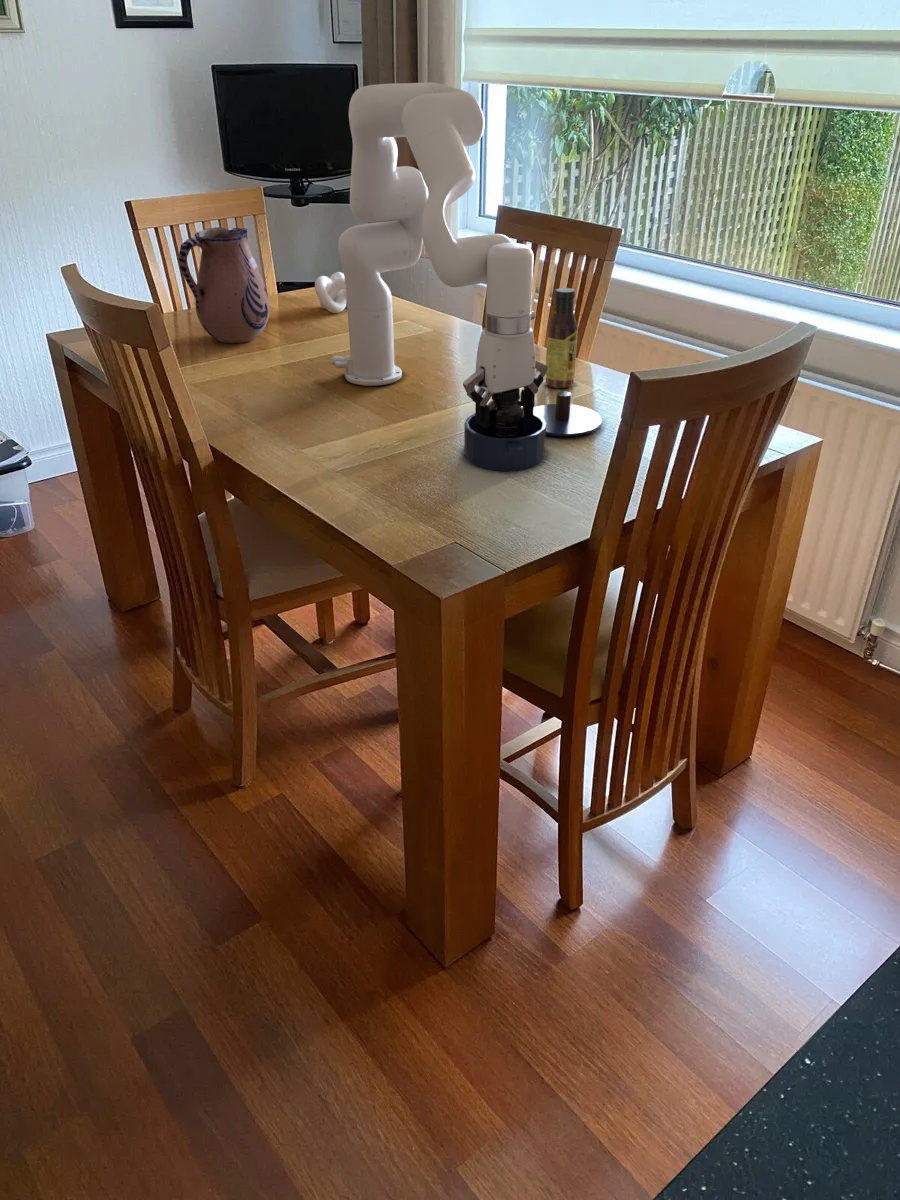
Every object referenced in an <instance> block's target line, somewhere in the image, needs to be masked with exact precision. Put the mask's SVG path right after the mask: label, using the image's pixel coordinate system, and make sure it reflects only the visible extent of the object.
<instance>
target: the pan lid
mask: <svg viewBox="0 0 900 1200" xmlns="http://www.w3.org/2000/svg"><path fill="white" fill-rule="evenodd" d="M571 400H572V393H571V392H570V391H565V390H561V391H557V392H556V397H555V403H549V404H541V405H538V406H534V414H536V415H538V416H540V417H541V418H543V419H544V421H545V423H546V435H549V436H557V437H576V436H583V435H588V434H591V433H592V432H595V431H597V430H598V429H599V428H601V426H602V423H603V419H602V417H601V415H600V414H599V413H598V412H596V411H595V410H593V409H590V408H588V407H585V406H582V405H577V404H571V403H572V402H571Z"/></svg>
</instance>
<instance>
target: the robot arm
mask: <svg viewBox="0 0 900 1200" xmlns="http://www.w3.org/2000/svg"><path fill="white" fill-rule="evenodd" d="M348 105H349V106H348V122H349V129H350V134H351V139H352V155H351V171H350V185H349V186H350V187H349V207H350V211H351V213H352V215H353V217H354V218H355V219H356V220H358V221H360V222H363V223H361V224H356V225H354V226H353V225H352V226H350V227H347V229H345V230H344V231H343V232H342V233H341V234H340V236H339V238H338V243H337V244H338V245H337V247H338V248H337V249H338V255H339V259H340V263H341V269H342V273H343V274H344V278H345V285H346V295H347V320H348V321H347V322H348V336H349V337H348V338H349V339H348V340H349V353H350V354H349V355H346V356H341V355H339V356H338V355H333V356H332V358H331V363H332V365H333V366H334V367H335V369H345V370H344V378H345V380H346V381H347V382H349V383H351V384H354V385H358V386H367V387H377V386H384V385H390V384H393V383H395V382H398V381H399V380H400V379H402V377H403V371H402V369H401V367H400V366H397V365H395V340H394V316H393V315H394V314H393V313H394V312H393V296H392V292H391V290H390V288H389V286H388V285H387V283H386V282H385V281H384V279H382V277H381V276H382V275H381V274H382V273H386V272H392V271H397V270H398V271H399V270H403V269H408V268H412V267H414V266H416V265H417V263H418V262H419V260H420V258H421V255H422V253H423V252H422V251H423V245H424V249H425V252H426V254H427V257H428V259H429V261H430V264H431V266H432V268H433V271H434V272H435V275H436V276H437V278H438V279H439V280H440V282H442V283H443V284H444V286H445V285H446V286H447V287H450V288H462V287H467V286H474V285H480V284H486V290H485V291H486V292H485V330H482V331H481V333H480V336H479V340H478V344H477V345H478V346H477V350H476V359H475V370H474V373H472V374H471V375H469V377H467V378H466V379H465V380H464V381H463V382H462V387H463V389H464V390H465V392H466V395H467V397H469V398H470V400H471V401H472V402H473V403H475V409H474V410H475V412H474V413H475V419H476V422H477V423H478V424H480V425H481V426H483V427H485V428H486V427H488V426H489V410H490V407H489V406H488V404H489V402H490V400H491V399H492V395H493V394H495V393H500V392H505V391H509V390H513V389H517V388H519V389H520V390H521V391H520V400H519V401H520V402H521V403H522V404H523V406H524V413H525V414H527V415H529V416H533V413H534V407H535V401H536V400H535V397H536V394H538V393H539V387H540V386H541V385H542V384H543V382H544V379H545V378H544V377H546V371H547V369H548V366H547V365H546V363H543V362H541V361H538V360H536V344H535V336H534V330H533V328H532V327H531V323H532V322H531V321H532V320H535V318H536V313H535V311H533V310H532V300H533V298H532V297H533V279H534V277H533V276H534V252H533V249H531V247H529V246H528V245H527V244H523V243H517V242H515V241H513V240H512V239H511V238H510V237H508V236H506V235H505V234H501V233H489V234H483V235H473V236H466V237H459V238H453V236H452V234H451V231H450V229H449V227H448V224H447V220H446V217H445V216H446V215H445V208H447V207H448V206H450V205H451V204H453V203H454V202H455V201H457V200H459V199H460V198H461V197H462V196H464V195H465V194H466V193H467V192H469V190H470V189H471V187H472V186H473V185H474V182H475V180H476V171H475V168H474V165H473V163H472V161H471V159H470V156H469V153H468V152H467V149H466V147H470V146H474V145H476V144H477V143H478V142H480V141H481V139H482V137H483V134H484V130H485V116H484V113H483V109H482V108H481V104H480V103H479V101H478V100H477V99H476V97H475V96H473V95H472V94H471V93H470V92H468V91H465V90H462V89H459V88H456V87H453V86H450V85H446V84H444V83H440V82H406V83H405V82H402V83H401V82H400V83H399V82H397V83H396V82H395V83H394V82H393V83H379V84H369V85H364V86H360V87H359V88H357V89H356V90H355V91H354V93H353V94H352V95H351V97H350V101H349V104H348ZM395 138H406V141H407V143H408V145H409V148H410V150H411V152H412V156H413V158H414V160H415V162H416V165H417V167H418V169H417V168H416V167H413V166H409V165H402V166H397V165H398V163H397V162H398V145H397V142H396V139H395ZM475 387H477V390H476V388H475ZM521 388H523V389H521Z"/></svg>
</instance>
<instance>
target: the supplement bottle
mask: <svg viewBox="0 0 900 1200" xmlns="http://www.w3.org/2000/svg"><path fill="white" fill-rule="evenodd" d="M520 390H521V389H520V388H517V389H513V390H509V391H505V392H500V393H495V394H493V395H492V396H491V401H489V402H488V403H487V405H488V406H489V407H490V410H489V426H488V427H486V436H488V437H495V438H519V437H524V406H523V404H522V403H521V402H520V401H521V394H520V392H521V391H520Z"/></svg>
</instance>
